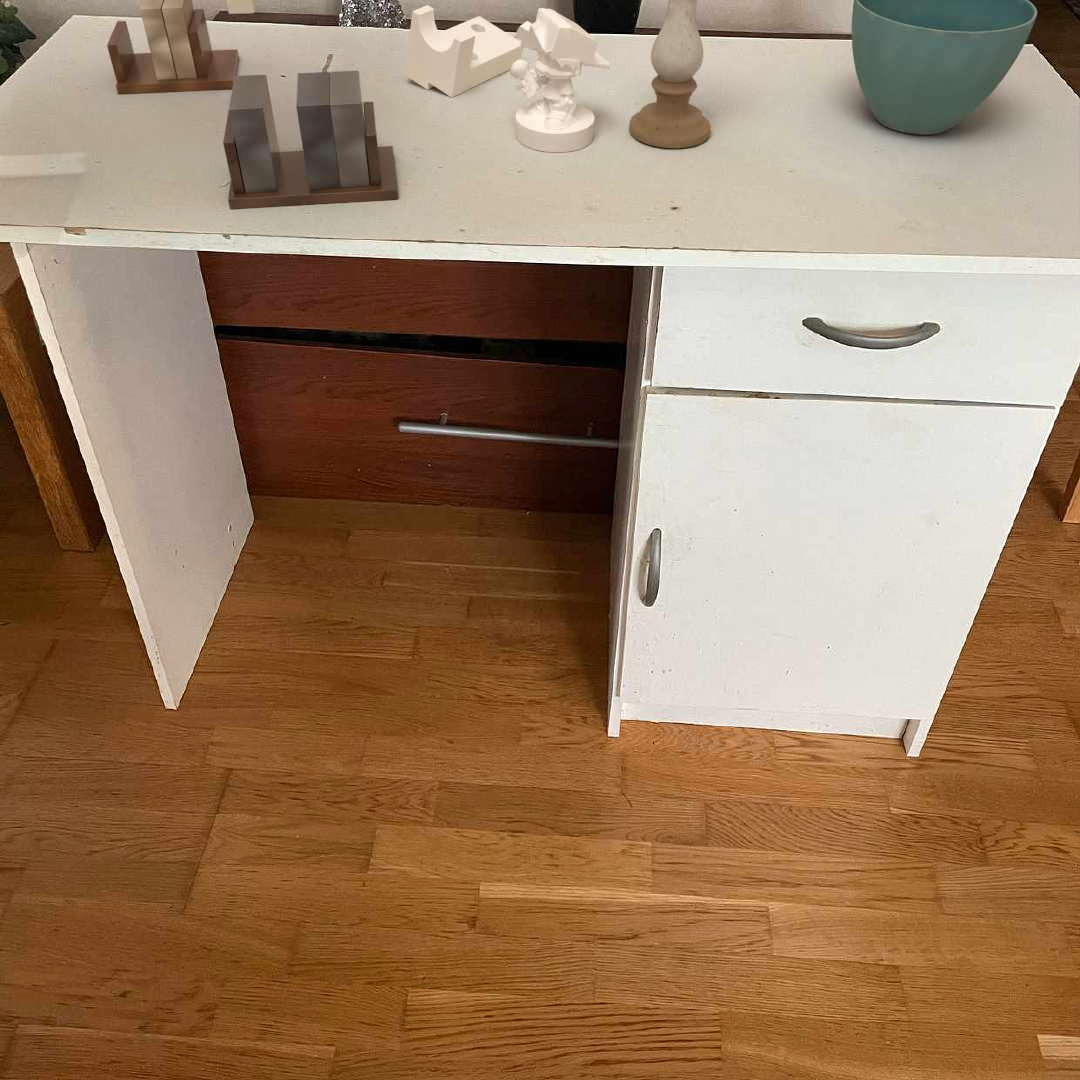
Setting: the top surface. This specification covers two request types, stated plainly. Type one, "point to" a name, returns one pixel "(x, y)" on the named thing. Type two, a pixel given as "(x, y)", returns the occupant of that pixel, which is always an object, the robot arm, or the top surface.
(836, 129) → the top surface
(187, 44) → the brown book rack
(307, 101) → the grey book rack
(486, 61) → the bracket
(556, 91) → the character figurine
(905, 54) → the plant pot
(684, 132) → the candle holder
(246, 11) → the cream book
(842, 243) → the top surface
